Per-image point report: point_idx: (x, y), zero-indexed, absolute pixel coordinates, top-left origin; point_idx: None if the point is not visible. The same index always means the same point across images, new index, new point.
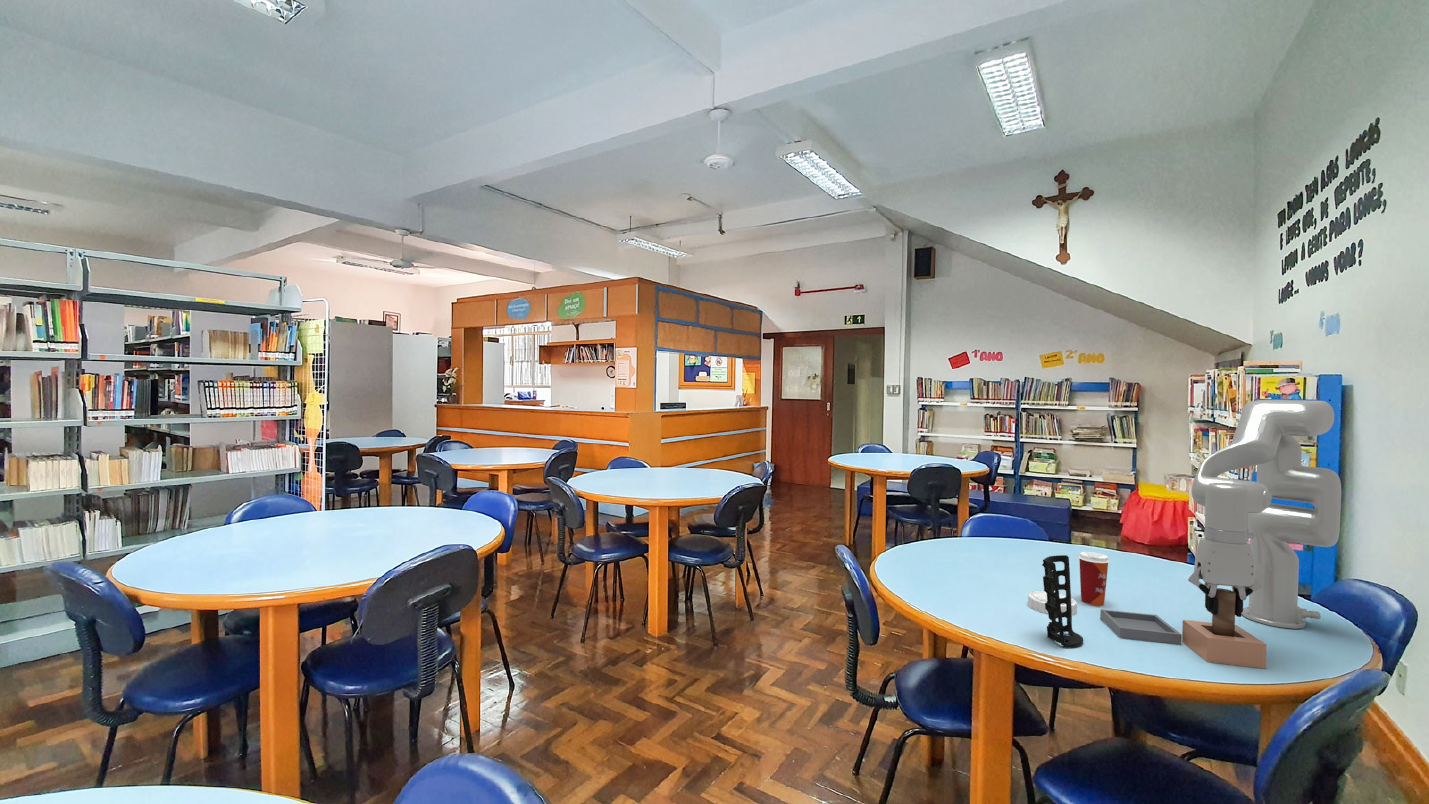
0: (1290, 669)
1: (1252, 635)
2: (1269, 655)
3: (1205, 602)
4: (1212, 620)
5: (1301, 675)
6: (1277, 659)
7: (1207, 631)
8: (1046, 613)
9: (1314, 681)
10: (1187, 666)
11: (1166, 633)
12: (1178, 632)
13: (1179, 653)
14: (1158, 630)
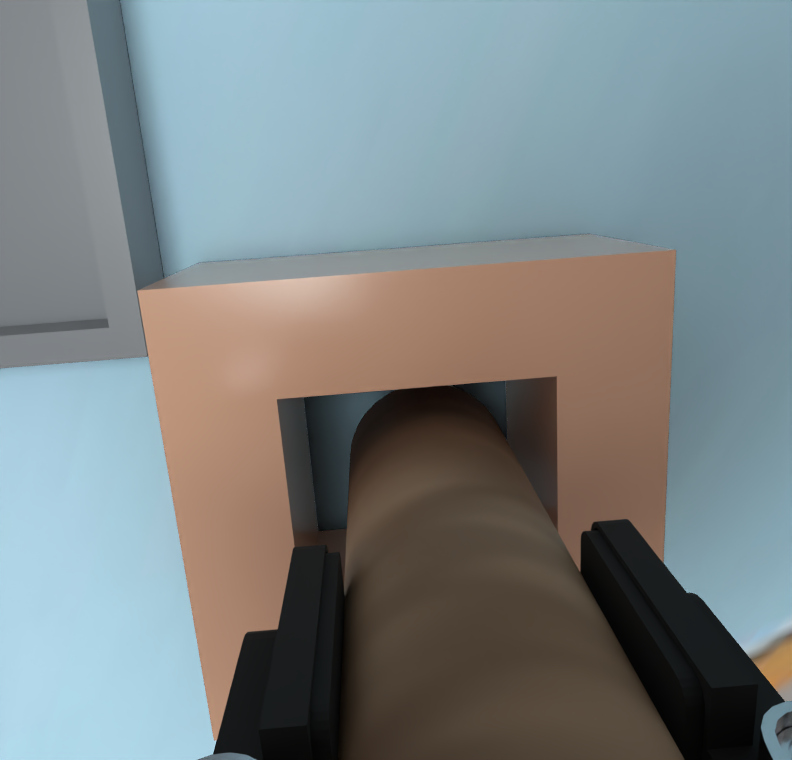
0: (747, 522)
1: (663, 519)
2: (766, 302)
3: (234, 689)
4: (347, 536)
5: (753, 595)
6: (775, 366)
7: (274, 579)
8: None
9: (771, 656)
10: (98, 726)
11: (22, 363)
12: (132, 310)
13: (108, 524)
14: (23, 136)
